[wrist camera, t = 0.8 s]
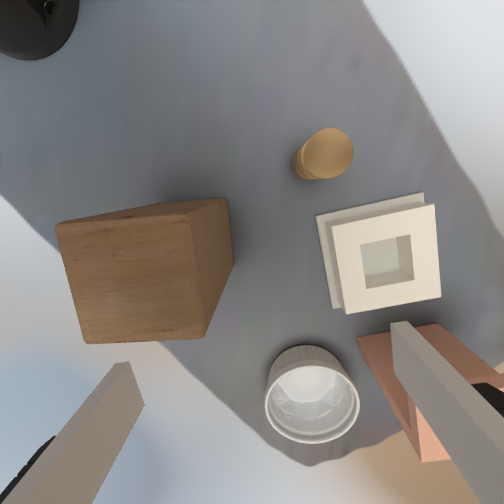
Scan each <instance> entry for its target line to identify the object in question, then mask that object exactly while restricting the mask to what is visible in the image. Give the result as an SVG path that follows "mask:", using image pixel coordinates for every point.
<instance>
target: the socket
mask: <svg viewBox="0 0 504 504" xmlns="http://www.w3.org/2000/svg"><path fill="white" fill-rule="evenodd" d="M315 218H316V224H317V229H318V235H319V241H320V246H321V252H322V257H323V263H324V268H325V274H326V279H327V285H328V290H329V296H330V302H331V306H332V308H333V309H336V308H341V307H342V308H343V310H344V311H345V313H346V314H351V313H357V312H362V311H368V310H373V309H379V308H384V307H389V306H395V305H400V304H406V303H411V302H417V301H422V300H428V299H433V298H439V297H441V287H440V274H439V261H438V248H437V235H436V222H435V209H434V204H429V203H424V194H423V192H418V193H413V194H409V195H404V196H400V197H395V198H391V199H387V200H382V201H378V202H373V203H369V204H364V205H360V206H355V207H351V208H346V209H342V210H337V211H333V212H329V213H324V214H320V215H315Z"/></svg>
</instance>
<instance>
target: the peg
mask: <svg viewBox="0 0 504 504" xmlns="http://www.w3.org/2000/svg"><path fill="white" fill-rule="evenodd" d="M352 156H353V147H352V143H351V141H350V139H349V137H348V136H347V135H346V134H345V133H344V132H342V131H341V130H338V129H335V128H326V129H322V130H320V131H318V132H317V133H315V134H314V135H313V136H312V137H311V138H310V139H309V140H308V141H307V142H306V143H305V144H304V145H303V146H302V147H301V148H300V149H299V150H298V151H297V152H296V153H295V154H294V156H293V157H292V160H291V170H292V172H293V174H294V175H295V176H296V177H297V178H299V179H302V180H310V179H326V178H333V177H336V176H338V175H340V174H342V173H343V172H344V171H345V170H346V169H347V168H348V166H349V164H350V162H351V160H352Z"/></svg>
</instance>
